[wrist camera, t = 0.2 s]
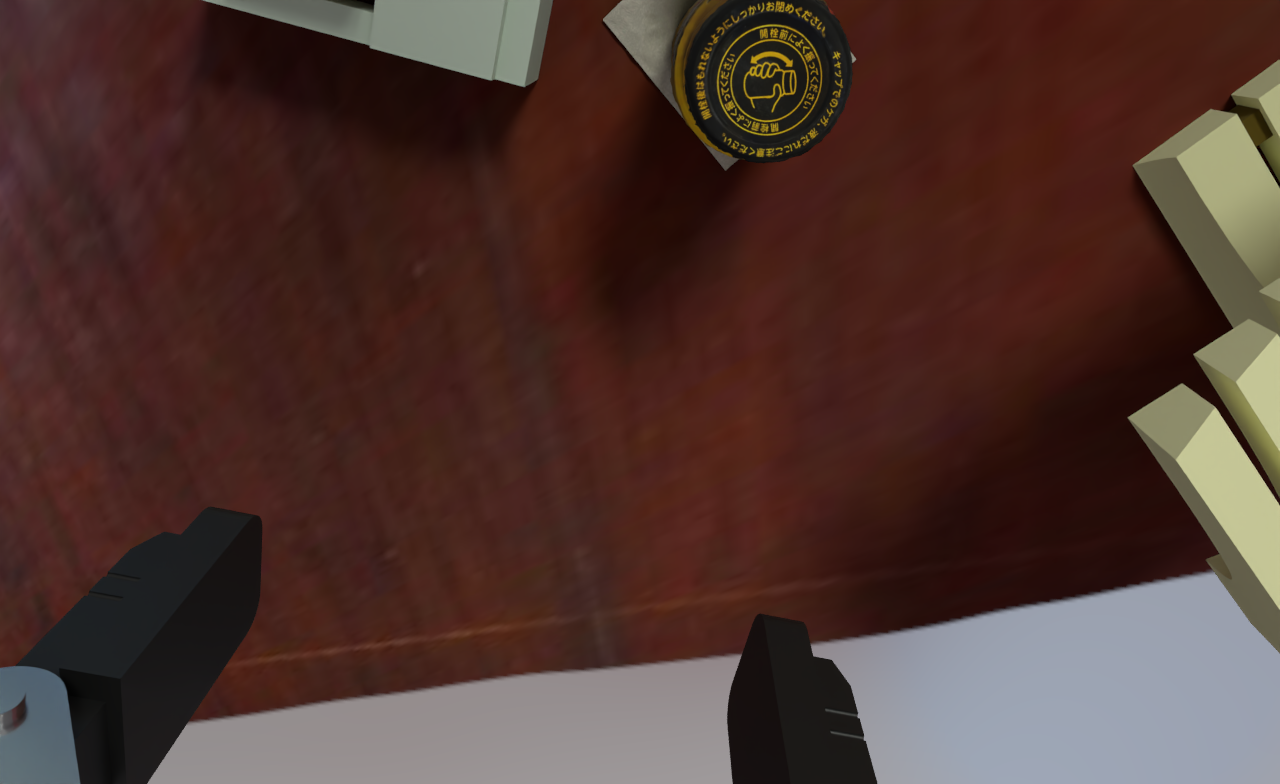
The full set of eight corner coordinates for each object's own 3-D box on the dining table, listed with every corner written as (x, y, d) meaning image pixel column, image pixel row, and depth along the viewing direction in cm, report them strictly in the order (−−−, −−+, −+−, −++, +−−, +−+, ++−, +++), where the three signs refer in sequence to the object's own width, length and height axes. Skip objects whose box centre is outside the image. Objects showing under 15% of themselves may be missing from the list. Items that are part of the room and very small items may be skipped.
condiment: (725, 170, 39) (749, 232, 28) (602, 19, 36) (576, 23, 25) (855, 59, 37) (936, 80, 26) (735, -110, 34) (768, -165, 23)
